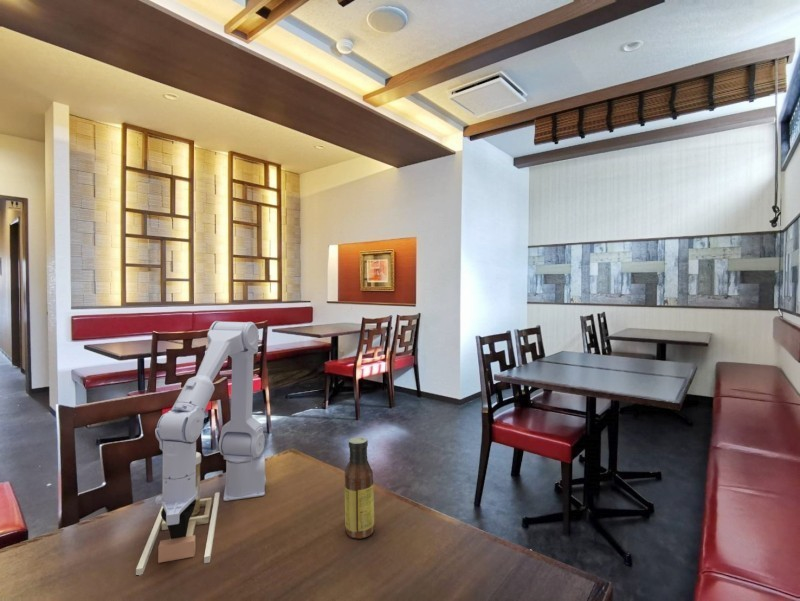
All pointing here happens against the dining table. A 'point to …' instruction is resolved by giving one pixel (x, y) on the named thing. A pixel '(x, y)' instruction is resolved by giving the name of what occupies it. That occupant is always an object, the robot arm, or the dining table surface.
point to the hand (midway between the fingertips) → (178, 541)
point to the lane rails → (156, 529)
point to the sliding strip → (183, 545)
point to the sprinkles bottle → (197, 484)
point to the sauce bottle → (359, 491)
